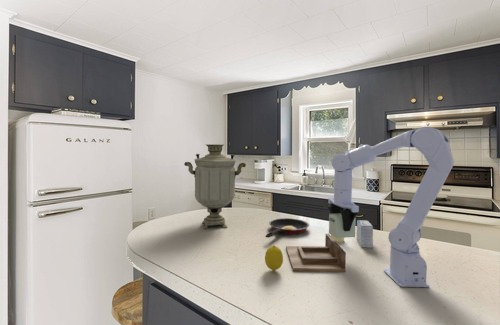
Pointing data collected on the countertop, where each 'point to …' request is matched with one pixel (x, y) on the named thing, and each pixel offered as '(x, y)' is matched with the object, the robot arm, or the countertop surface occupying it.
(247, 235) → the countertop surface
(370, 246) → the medicine box
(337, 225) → the pale green block
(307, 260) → the brown wooden stand
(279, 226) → the frying pan
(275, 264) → the lemon
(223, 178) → the samovar
